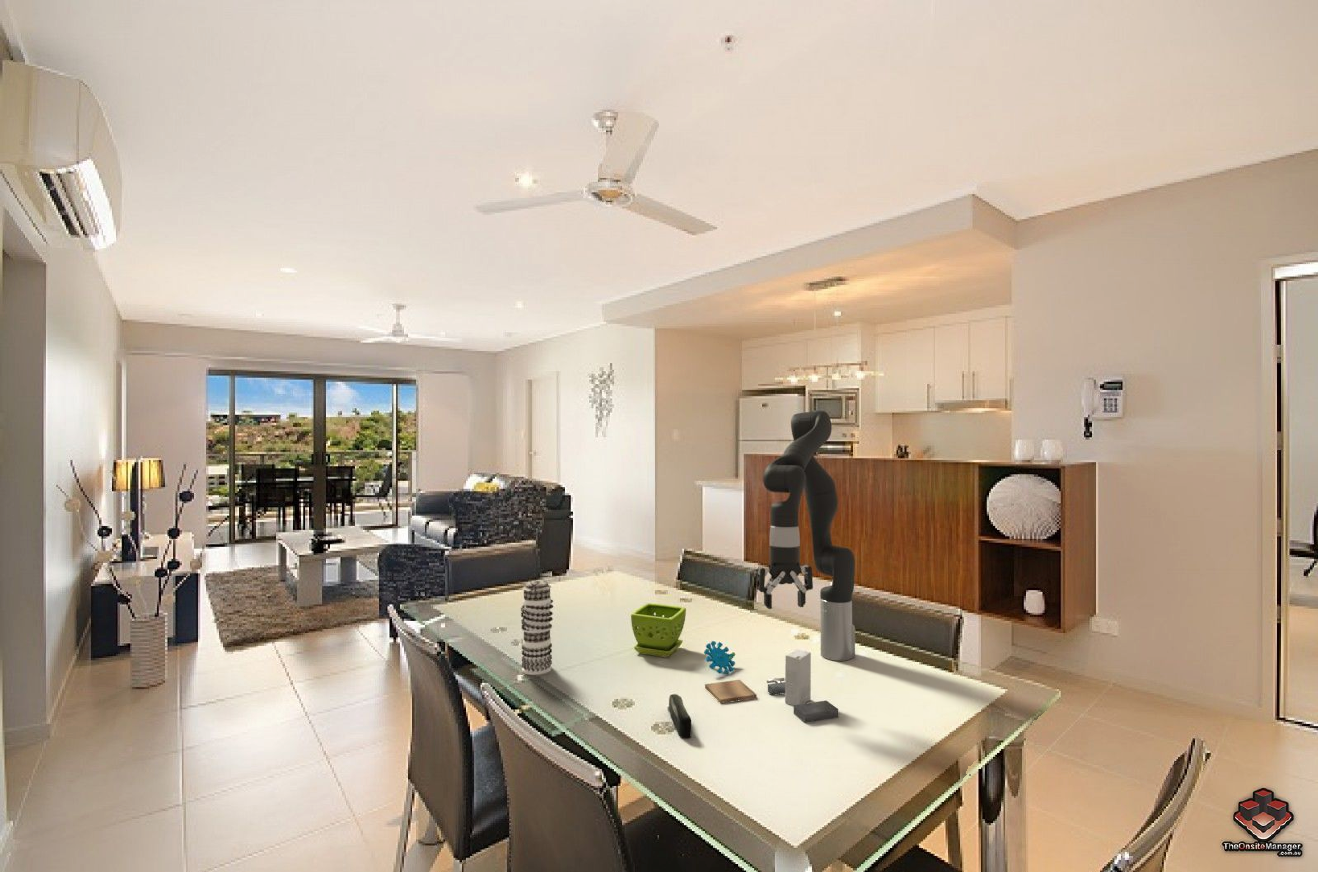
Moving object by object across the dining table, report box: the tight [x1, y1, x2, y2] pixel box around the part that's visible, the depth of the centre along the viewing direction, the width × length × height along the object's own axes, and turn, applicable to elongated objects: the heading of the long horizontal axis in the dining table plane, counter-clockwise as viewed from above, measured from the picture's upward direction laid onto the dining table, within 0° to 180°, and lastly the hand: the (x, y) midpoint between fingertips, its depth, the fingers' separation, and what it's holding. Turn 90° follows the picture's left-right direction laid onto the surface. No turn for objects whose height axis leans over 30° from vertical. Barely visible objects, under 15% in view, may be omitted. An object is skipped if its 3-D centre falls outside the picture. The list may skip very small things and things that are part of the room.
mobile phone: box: [667, 693, 692, 739], centre depth 137 cm, size 5×3×15 cm
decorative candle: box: [520, 579, 554, 676], centre depth 171 cm, size 9×9×25 cm
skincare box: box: [784, 648, 812, 707], centre depth 149 cm, size 6×4×12 cm
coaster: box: [704, 679, 758, 704], centre depth 154 cm, size 10×10×1 cm
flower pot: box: [630, 602, 687, 659], centre depth 186 cm, size 14×14×13 cm
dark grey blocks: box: [766, 677, 839, 724], centre depth 149 cm, size 9×22×2 cm, turn 18°
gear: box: [703, 640, 736, 675], centre depth 171 cm, size 11×6×10 cm
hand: (784, 607), depth 151 cm, fingers open, 8 cm apart
